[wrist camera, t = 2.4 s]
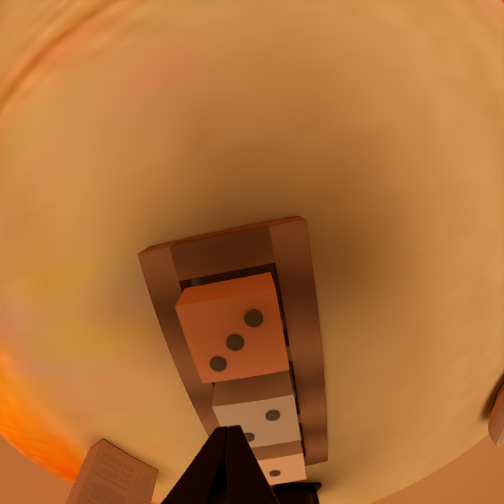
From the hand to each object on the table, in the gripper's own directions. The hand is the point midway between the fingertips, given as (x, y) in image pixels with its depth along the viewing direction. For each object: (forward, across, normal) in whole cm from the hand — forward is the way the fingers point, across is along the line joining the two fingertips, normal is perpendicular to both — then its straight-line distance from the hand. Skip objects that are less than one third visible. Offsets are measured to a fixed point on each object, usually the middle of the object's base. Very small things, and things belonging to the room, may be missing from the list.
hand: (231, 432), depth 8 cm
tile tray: (+11, 0, +7) cm, 13 cm away
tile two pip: (+9, 0, +7) cm, 11 cm away
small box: (+11, +19, +19) cm, 30 cm away
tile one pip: (+9, 0, +14) cm, 16 cm away
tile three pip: (+9, 0, 0) cm, 9 cm away
